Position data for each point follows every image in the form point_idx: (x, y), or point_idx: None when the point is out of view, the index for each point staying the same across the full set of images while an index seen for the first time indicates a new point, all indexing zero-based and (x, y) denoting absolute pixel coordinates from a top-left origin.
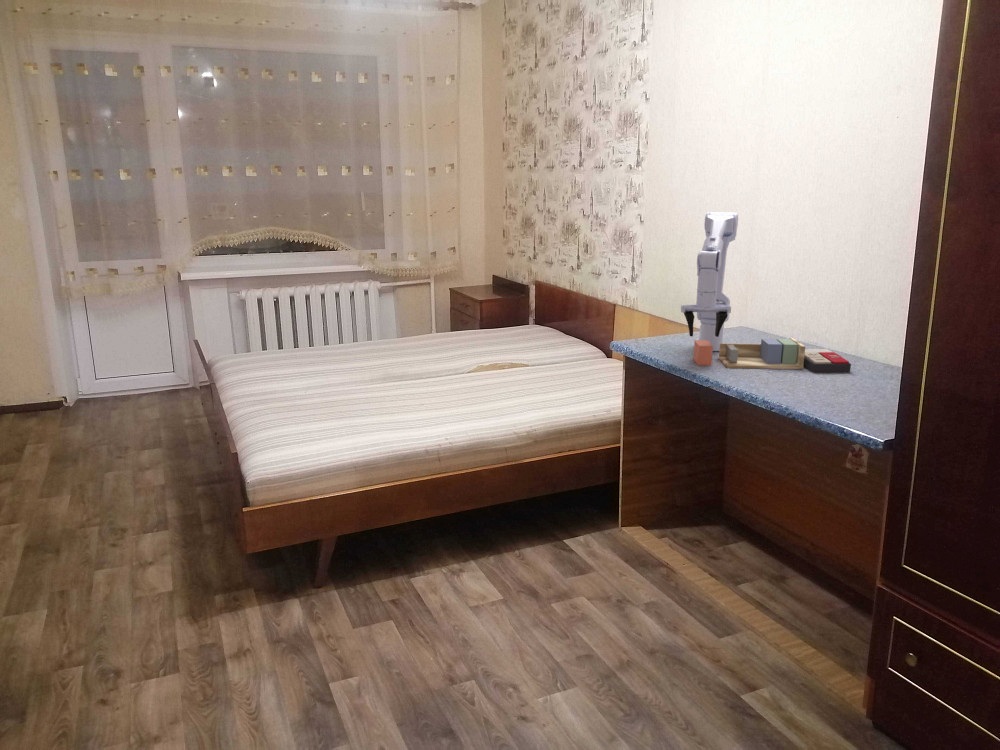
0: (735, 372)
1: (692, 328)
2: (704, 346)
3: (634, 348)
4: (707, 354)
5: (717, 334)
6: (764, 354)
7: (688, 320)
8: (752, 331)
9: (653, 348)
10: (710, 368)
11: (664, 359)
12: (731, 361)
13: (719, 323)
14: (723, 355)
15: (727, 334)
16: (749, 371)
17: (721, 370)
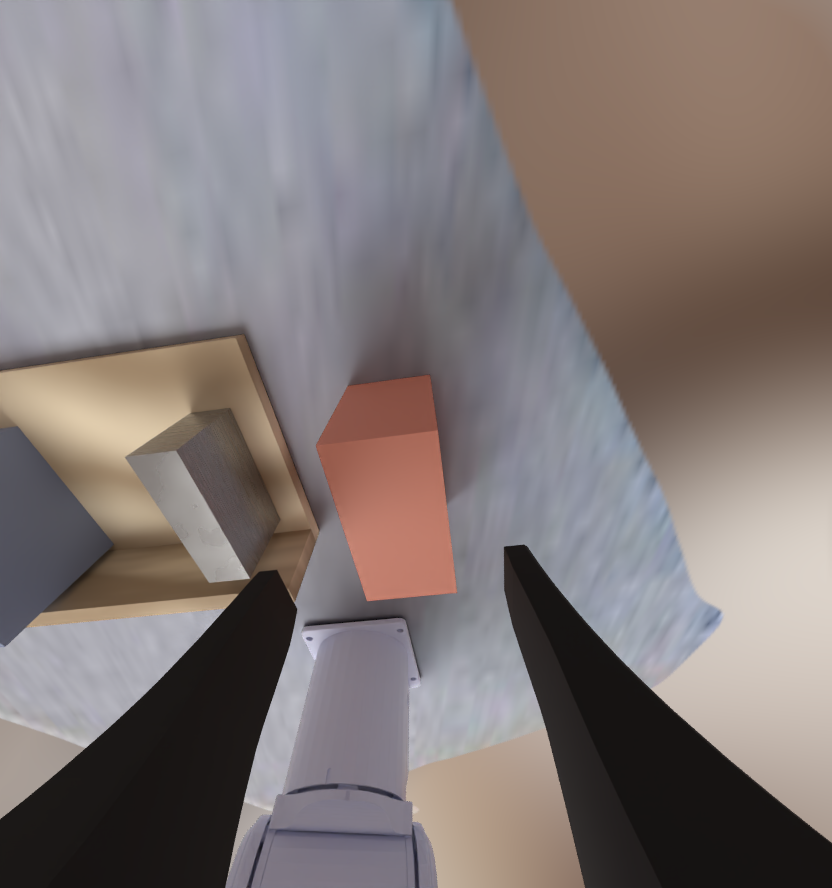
0: (158, 202)
1: (547, 615)
2: (389, 434)
3: (682, 616)
4: (366, 410)
5: (256, 586)
6: (19, 505)
7: (712, 754)
8: (256, 790)
9: (597, 626)
10: (349, 298)
11: (604, 467)
12: (218, 412)
13: (153, 729)
14: (290, 536)
15: None
16: (75, 262)
17: (269, 250)
